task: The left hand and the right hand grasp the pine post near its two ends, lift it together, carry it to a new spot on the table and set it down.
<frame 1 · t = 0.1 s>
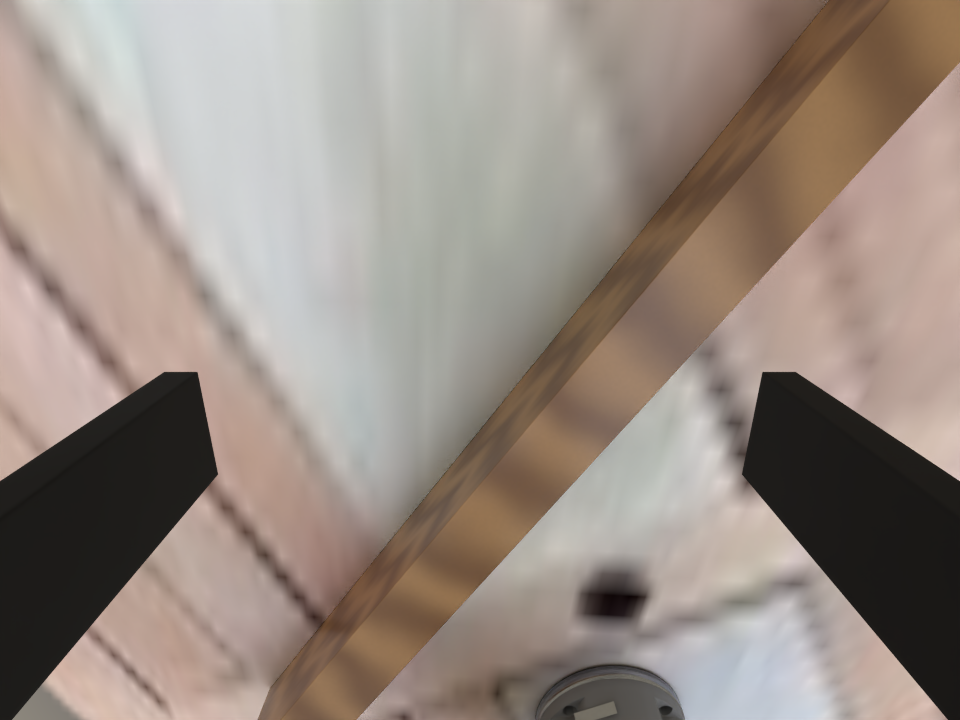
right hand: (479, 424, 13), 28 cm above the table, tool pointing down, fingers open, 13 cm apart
post: (517, 431, 44), on the table
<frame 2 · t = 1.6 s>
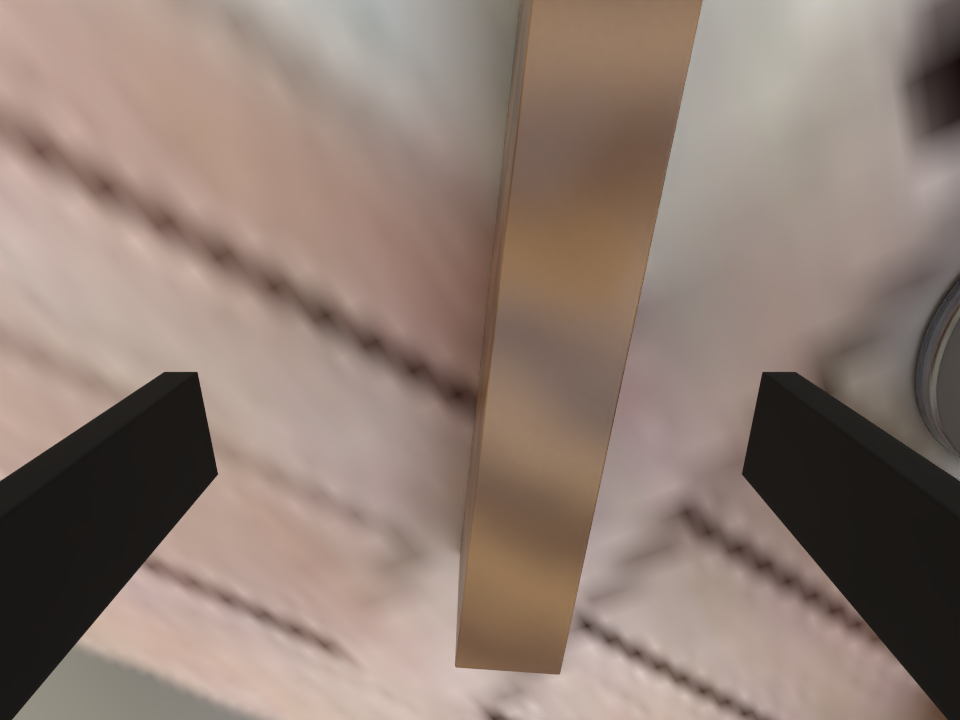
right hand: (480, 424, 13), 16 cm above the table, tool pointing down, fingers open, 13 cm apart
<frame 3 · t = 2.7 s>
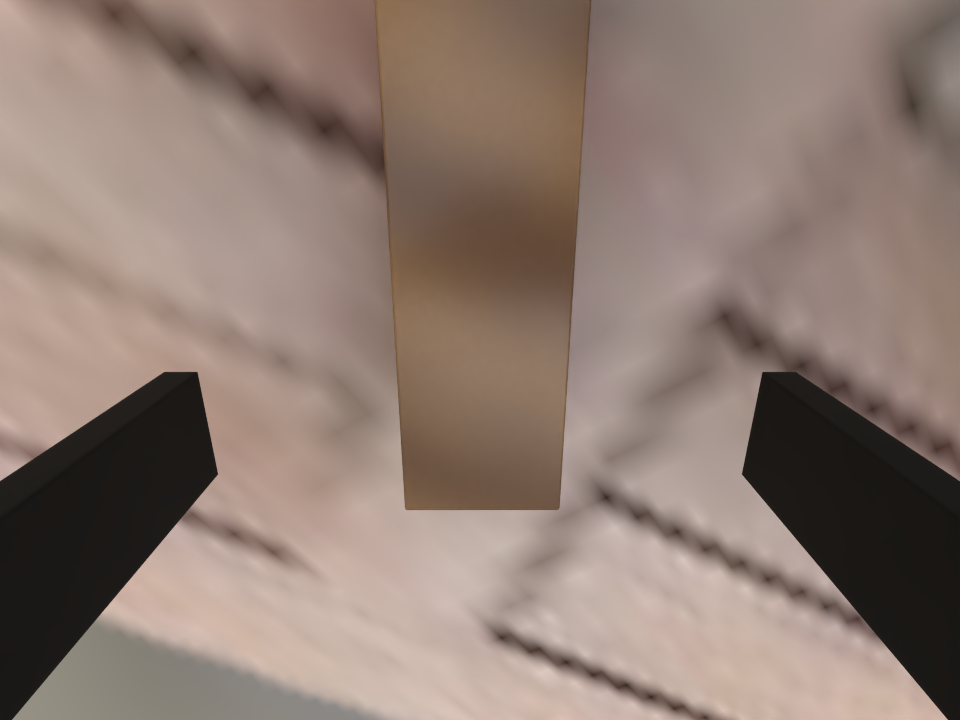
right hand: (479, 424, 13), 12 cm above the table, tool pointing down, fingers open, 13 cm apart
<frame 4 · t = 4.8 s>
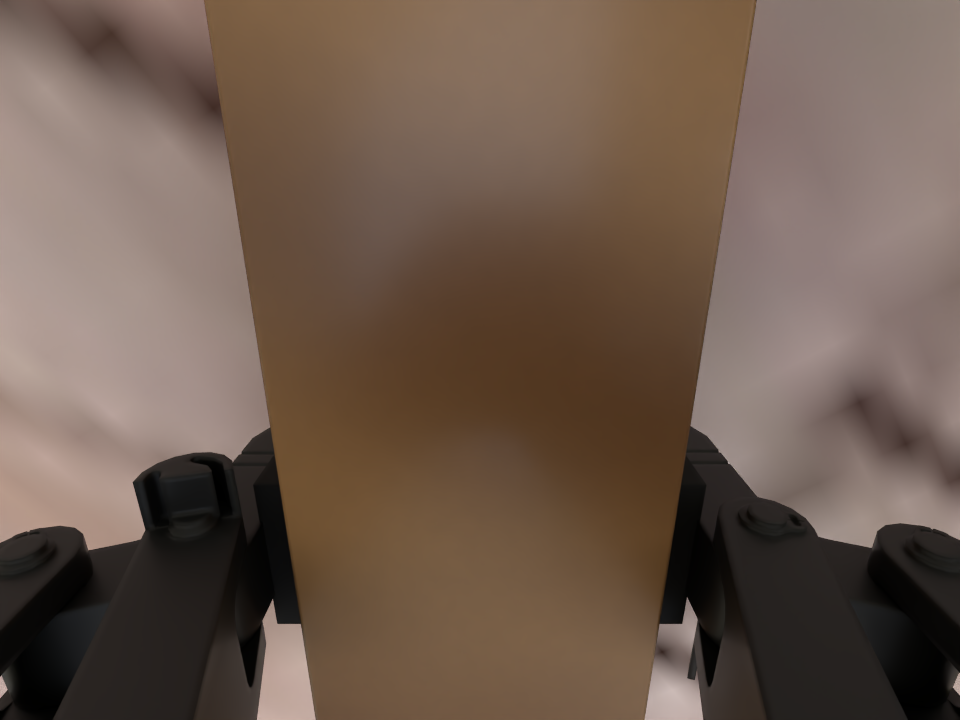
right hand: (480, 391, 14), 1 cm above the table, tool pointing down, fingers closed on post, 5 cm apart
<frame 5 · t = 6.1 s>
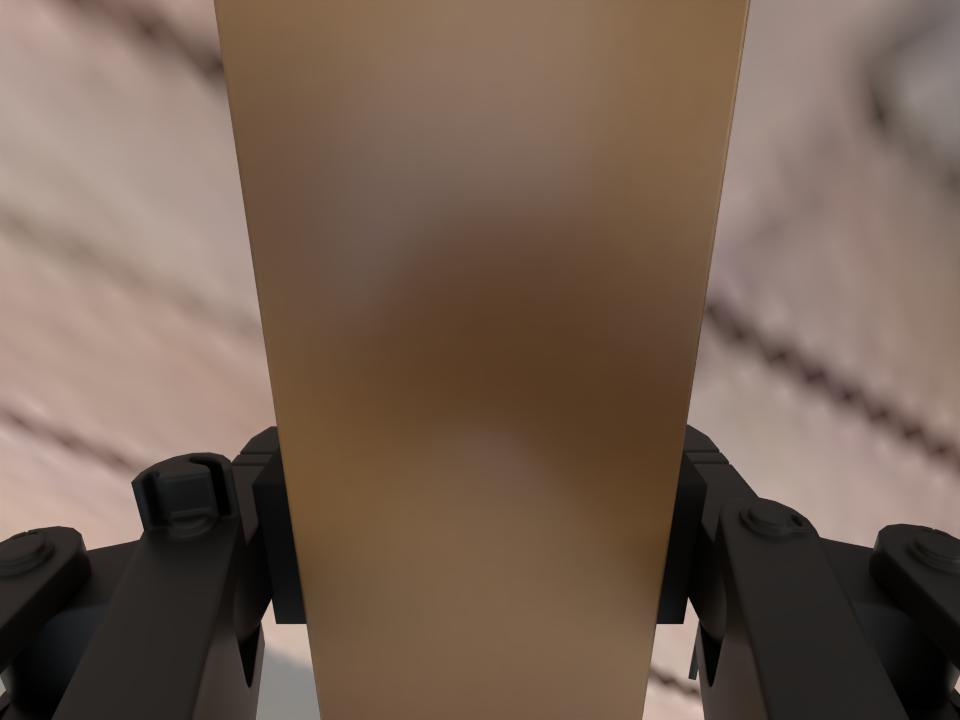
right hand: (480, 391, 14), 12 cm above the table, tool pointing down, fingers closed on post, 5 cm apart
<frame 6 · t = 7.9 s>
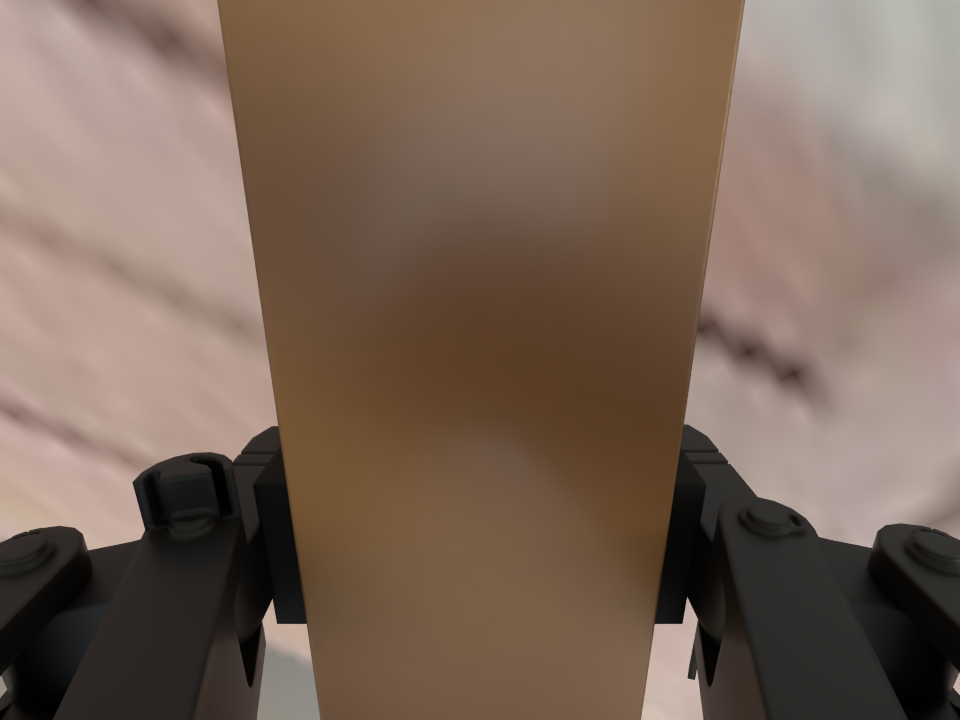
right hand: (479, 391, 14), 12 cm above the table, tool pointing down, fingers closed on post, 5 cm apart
when the left hand's fingers open (2 cm above the table, at t = 9.5 s): post drops 1 cm, on the table.
when the right hand's fingers open (2 cm above the table, at t = 9.5 s): post drops 1 cm, on the table.
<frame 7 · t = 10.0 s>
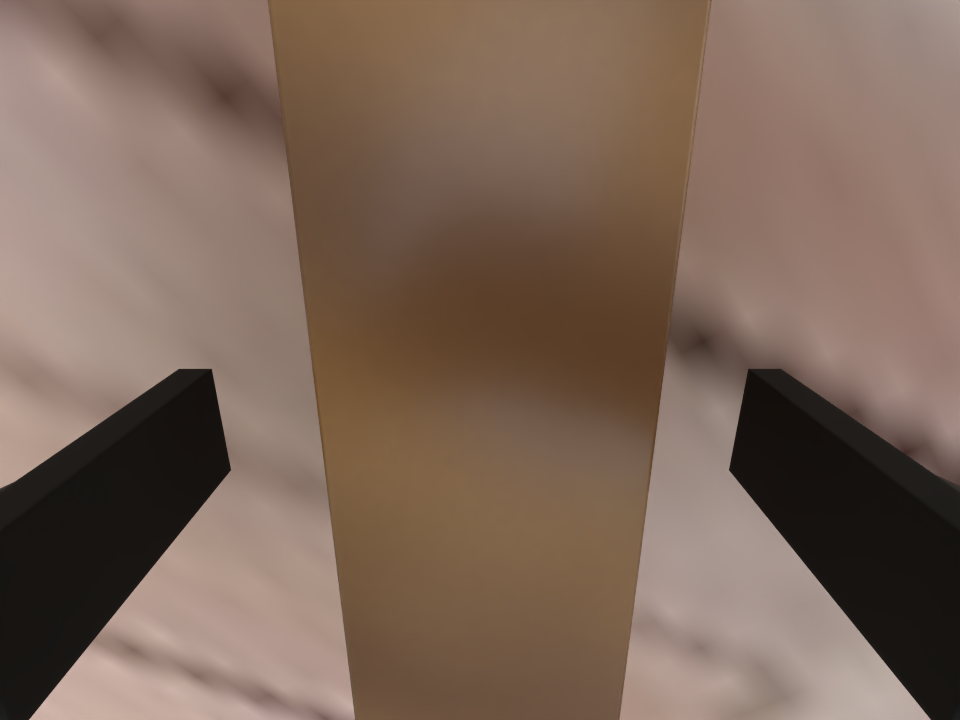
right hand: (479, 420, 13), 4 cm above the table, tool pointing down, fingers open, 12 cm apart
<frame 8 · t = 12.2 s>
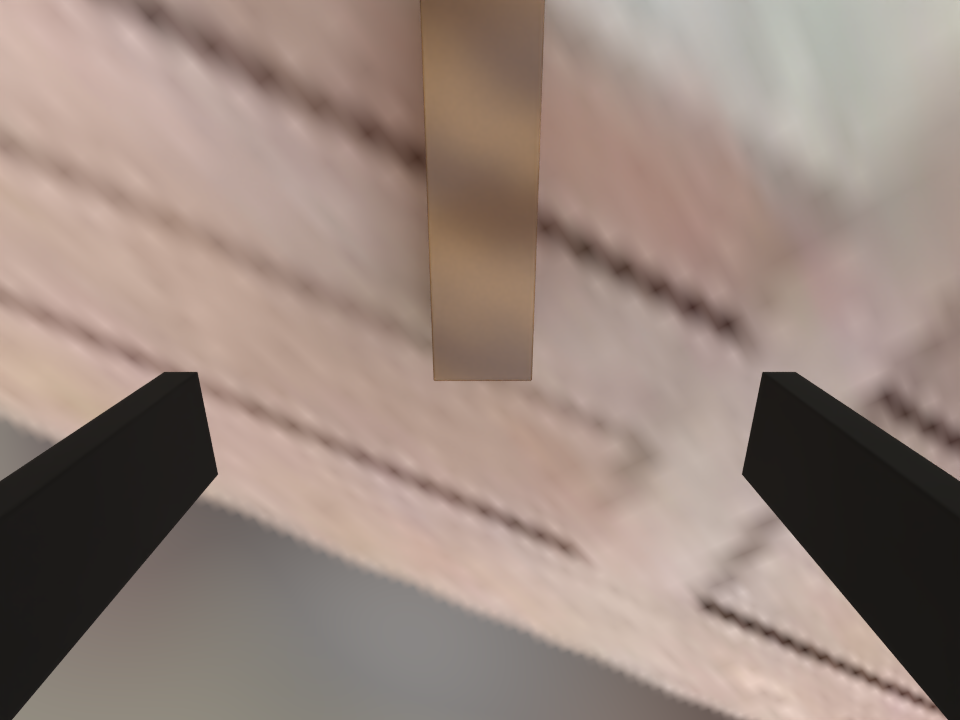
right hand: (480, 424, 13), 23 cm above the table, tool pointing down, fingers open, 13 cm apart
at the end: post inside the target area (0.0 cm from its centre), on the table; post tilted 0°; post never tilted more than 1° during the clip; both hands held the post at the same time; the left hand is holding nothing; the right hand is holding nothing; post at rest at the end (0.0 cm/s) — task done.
